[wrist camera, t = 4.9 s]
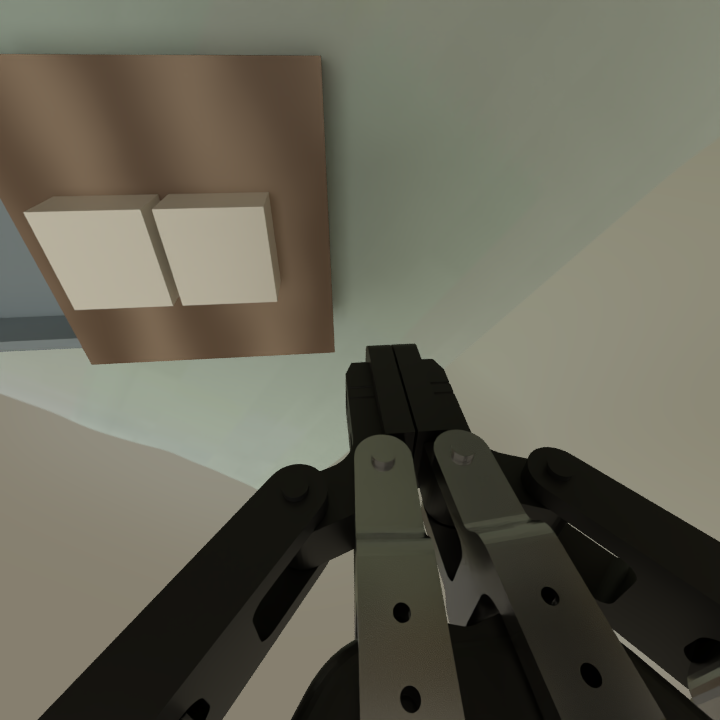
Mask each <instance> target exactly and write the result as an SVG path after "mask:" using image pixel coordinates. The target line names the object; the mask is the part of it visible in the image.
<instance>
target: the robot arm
mask: <svg viewBox="0 0 720 720" xmlns="http://www.w3.org/2000/svg"><path fill="white" fill-rule="evenodd" d="M346 415H347V425H348V434H349V445H350V453H349V454H348V455H347V457H346V458H345V459H344V460H342V461H341V462H340V463H338V464H337V465H334V466H332V467H330V468H327V469H324V470H322V471H319V470H317V469H316V468H314V467H312V466H309V465H304V464H294V465H289V466H286V467H284V468H282V469H280V470H278V471H277V472H276V473H274V474H273V475H272V476H271V477H270V478H269V479H268V480H267V481H266V482H265V484H264V485H263V486H262V487H261V488H260V489H259V490H258V491H257V492H256V493H255V494H254V495H253V496H252V497H251V498H250V499H249V500H248V501H247V502H246V503H245V504H244V506H242V508H241V509H240V510H239V511H238V512H237V513H236V514H235V515H234V516H233V517H232V518H231V519H230V520H229V521H228V522H227V523H226V524H225V525H224V526H223V527H222V528H221V530H219V532H218V533H217V534H216V535H215V536H214V537H213V538H212V539H211V540H210V541H209V542H208V543H207V544H206V545H205V546H204V547H203V548H202V549H201V550H200V551H199V552H198V553H197V554H196V555H195V557H194V558H193V559H192V560H191V561H190V562H189V563H188V564H187V565H186V566H185V567H184V568H183V569H182V570H181V571H180V572H179V573H178V574H177V575H176V576H175V577H174V578H173V579H172V580H171V581H170V582H169V583H168V584H167V586H166V587H165V588H164V589H163V590H162V591H161V592H160V593H159V594H158V595H157V596H156V597H155V598H154V599H153V600H152V601H151V602H150V603H149V604H148V605H147V606H146V607H145V608H144V610H143V611H142V612H141V613H140V614H139V615H138V616H137V617H136V618H135V619H134V620H133V621H132V622H131V623H130V624H129V625H128V626H127V627H126V628H125V629H124V630H123V631H122V633H120V634H119V636H118V637H117V638H116V639H115V640H114V641H113V642H112V643H111V644H110V645H109V646H108V647H107V648H106V649H105V650H104V651H103V652H102V653H101V654H100V655H99V657H97V659H95V660H94V662H93V663H92V664H91V665H90V666H89V667H88V668H87V669H86V670H85V671H84V672H83V673H82V674H81V675H80V676H79V677H78V678H77V679H76V680H75V681H74V682H73V683H72V684H71V686H70V687H69V688H68V689H67V690H66V691H65V692H64V693H63V694H62V695H61V696H60V697H59V698H58V699H57V700H56V701H55V702H54V703H53V704H52V705H51V706H50V707H49V708H48V709H47V710H46V712H45V713H44V714H43V715H42V716H41V717H40V718H39V719H38V720H222V719H223V717H224V716H225V715H226V713H227V712H228V710H229V709H230V707H231V706H232V704H233V703H234V701H235V700H236V699H237V697H238V695H239V694H240V693H241V691H242V690H243V688H244V687H245V685H246V684H247V682H248V681H249V679H250V678H251V676H252V675H253V673H254V672H255V670H256V669H257V667H258V666H259V665H260V663H261V662H262V660H263V659H264V657H265V656H266V654H267V653H268V651H269V650H270V648H271V647H272V645H273V644H274V642H275V641H276V639H277V638H278V636H279V635H280V634H281V632H282V630H283V629H284V628H285V626H286V624H287V623H288V622H289V620H290V619H291V617H292V616H293V614H294V613H295V611H296V610H297V608H298V607H299V605H300V604H301V602H302V601H303V600H304V598H305V597H306V595H307V594H308V592H309V591H310V589H311V588H312V586H313V585H314V583H315V582H316V580H317V579H318V577H319V576H320V574H321V573H322V571H323V570H324V568H325V567H326V565H327V564H328V562H329V560H331V559H333V558H336V557H338V556H340V555H342V554H344V553H346V552H348V551H350V550H352V549H354V593H355V594H354V613H355V614H354V617H355V618H354V619H355V621H354V622H355V640H354V641H352V642H350V643H349V644H347V645H346V646H344V647H343V648H341V649H340V650H339V651H338V652H337V653H336V654H334V655H333V656H332V657H331V658H330V659H329V660H328V661H327V663H325V665H324V666H323V667H322V668H321V669H320V671H319V672H318V673H317V675H316V676H315V678H314V679H313V681H312V682H311V684H310V686H309V687H308V689H307V691H306V692H305V694H304V696H303V698H302V700H301V702H300V704H299V706H298V707H297V709H296V711H295V713H294V715H293V717H292V719H291V720H720V542H719V541H717V540H716V539H713V538H712V537H710V536H709V535H707V534H705V533H704V532H702V531H700V530H698V529H697V528H695V527H693V526H692V525H690V524H688V523H687V522H685V521H683V520H682V519H680V518H678V517H677V516H675V515H673V514H671V513H670V512H668V511H666V510H665V509H663V508H661V507H660V506H658V505H656V504H654V503H653V502H651V501H649V500H648V499H646V498H644V497H643V496H641V495H639V494H638V493H636V492H634V491H632V490H631V489H629V488H627V487H625V486H624V485H622V484H620V483H619V482H617V481H615V480H614V479H612V478H610V477H609V476H607V475H605V474H603V473H602V472H600V471H598V470H597V469H595V468H593V467H592V466H590V465H588V464H586V463H585V462H583V461H582V460H580V459H578V458H576V457H575V456H573V455H571V454H569V453H568V452H566V451H563V450H560V449H557V448H551V447H543V448H538V449H536V450H534V451H533V452H532V453H531V454H530V455H529V457H528V459H526V458H522V457H517V456H511V455H507V454H502V453H498V452H496V451H493V450H491V449H489V447H488V445H487V444H486V443H485V442H484V440H482V439H481V438H480V437H478V436H477V435H475V434H473V433H471V431H470V429H469V426H468V425H467V422H466V420H465V417H464V415H463V413H462V410H461V408H460V406H459V403H458V401H457V399H456V397H455V394H453V390H452V387H451V385H450V384H449V381H448V378H447V376H446V373H445V371H444V369H443V368H442V367H441V366H440V365H439V364H438V363H436V362H435V361H434V360H433V359H421V357H420V354H419V351H418V349H417V346H416V344H396V345H376V346H367V347H366V362H361V363H351V365H350V367H349V369H348V371H347V373H346ZM418 488H420V492H421V495H422V504H421V506H420V500H419V495H418ZM423 522H424V524H423ZM568 523H570V524H571V525H572V526H574V527H576V528H577V529H578V530H580V531H581V532H582V533H584V534H586V535H587V536H588V537H590V538H591V539H593V540H594V541H595V542H597V543H598V544H600V545H602V546H603V547H604V548H606V549H607V550H609V551H610V552H612V553H613V554H614V555H616V556H617V557H619V558H617V557H616V556H614V555H612V554H611V553H609V552H608V551H606V550H605V549H604V548H602V547H601V546H599V545H598V544H596V543H595V542H594V541H592V540H591V539H589V538H588V537H586V536H585V535H583V534H582V533H581V532H579V531H578V530H576V529H575V528H573V527H572V526H571V525H569V524H568ZM424 525H425V529H426V532H427V535H428V536H427V535H426V533H425V530H424ZM437 565H438V567H437ZM438 569H439V572H440V575H441V578H442V581H443V584H444V589H445V595H446V608H447V615H448V619H449V623H450V624H449V623H447V617H446V612H445V606H444V600H443V595H442V589H441V584H440V578H439V572H438ZM613 630H615V631H616V632H617V633H619V634H620V635H621V636H622V637H624V638H625V639H626V640H627V641H628V642H630V643H631V644H632V645H633V646H635V647H636V648H637V649H639V650H640V651H641V652H642V653H644V654H645V655H646V656H647V657H649V658H650V659H651V660H652V661H654V662H655V663H656V664H658V665H659V666H660V667H661V668H662V669H664V670H665V671H666V672H667V673H669V674H670V675H671V676H672V677H674V678H675V679H676V680H677V681H679V682H680V683H681V684H682V685H684V686H685V687H686V688H688V689H689V691H690V694H691V697H692V698H691V699H690V700H689V699H688V698H687V697H686V696H685V695H683V694H682V693H681V692H680V691H679V690H677V689H676V688H675V687H674V686H673V685H671V684H670V683H669V682H668V681H667V680H666V679H664V678H663V677H662V676H661V675H660V674H658V673H657V672H656V671H655V670H654V669H653V668H651V667H650V666H649V665H648V664H647V663H645V662H644V661H643V660H642V659H641V658H640V657H638V656H637V655H636V654H635V653H634V652H632V651H631V650H630V649H629V648H627V647H626V646H625V645H624V644H622V643H621V642H620V641H619V640H618V638H617V636H616V634H615V633H614V632H613Z"/></svg>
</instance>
